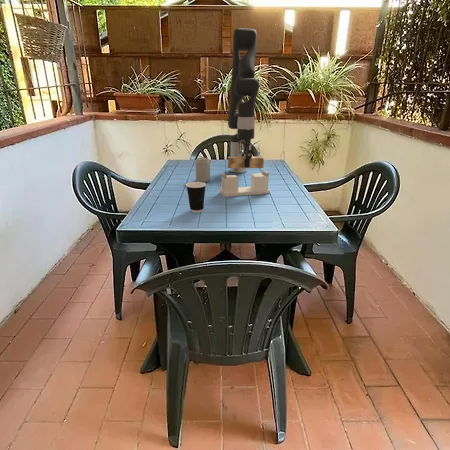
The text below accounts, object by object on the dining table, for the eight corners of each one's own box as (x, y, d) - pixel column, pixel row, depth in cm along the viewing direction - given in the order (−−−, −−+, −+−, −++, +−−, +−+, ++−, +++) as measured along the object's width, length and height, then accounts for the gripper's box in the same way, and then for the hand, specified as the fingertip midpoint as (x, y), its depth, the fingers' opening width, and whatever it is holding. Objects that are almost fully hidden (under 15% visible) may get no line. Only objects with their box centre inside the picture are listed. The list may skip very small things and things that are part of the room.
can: (193, 181, 182) (192, 158, 178) (200, 178, 188) (200, 156, 184) (205, 183, 179) (205, 160, 175) (212, 180, 185) (212, 157, 181)
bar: (227, 168, 157) (227, 158, 156) (227, 166, 161) (227, 156, 159) (263, 168, 157) (263, 158, 156) (262, 166, 161) (262, 156, 159)
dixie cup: (187, 207, 144) (185, 181, 140) (206, 207, 145) (205, 181, 141) (187, 214, 137) (185, 187, 133) (207, 213, 138) (206, 186, 133)
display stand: (224, 196, 158) (223, 176, 154) (220, 191, 165) (219, 172, 161) (269, 193, 163) (270, 173, 159) (263, 188, 170) (264, 169, 166)
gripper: (233, 126, 158) (233, 163, 165) (242, 129, 145) (241, 169, 152) (249, 125, 160) (248, 162, 166) (259, 129, 147) (258, 168, 153)
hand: (245, 165), depth 159 cm, fingers closed on bar, 4 cm apart
